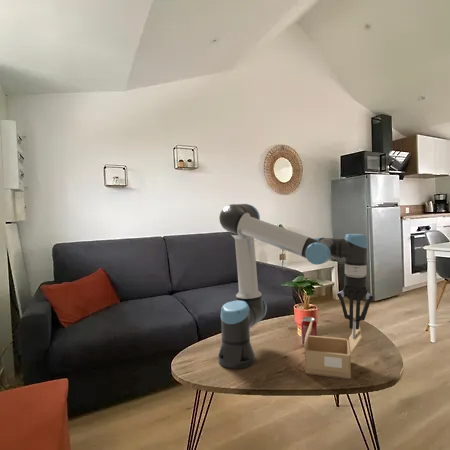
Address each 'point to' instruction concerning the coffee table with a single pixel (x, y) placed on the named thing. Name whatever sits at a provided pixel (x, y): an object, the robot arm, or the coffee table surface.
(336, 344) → the carton
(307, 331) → the flap
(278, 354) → the coffee table surface
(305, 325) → the soda can
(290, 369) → the coffee table surface
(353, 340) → the flap
